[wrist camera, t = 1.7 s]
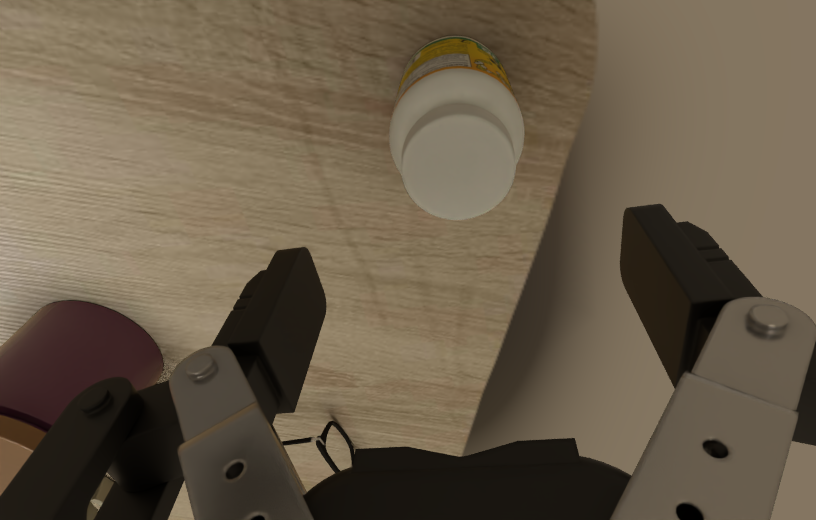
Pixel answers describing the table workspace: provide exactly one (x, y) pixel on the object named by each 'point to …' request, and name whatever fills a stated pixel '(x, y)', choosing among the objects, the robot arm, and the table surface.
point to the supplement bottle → (456, 129)
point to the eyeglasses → (321, 444)
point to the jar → (64, 370)
